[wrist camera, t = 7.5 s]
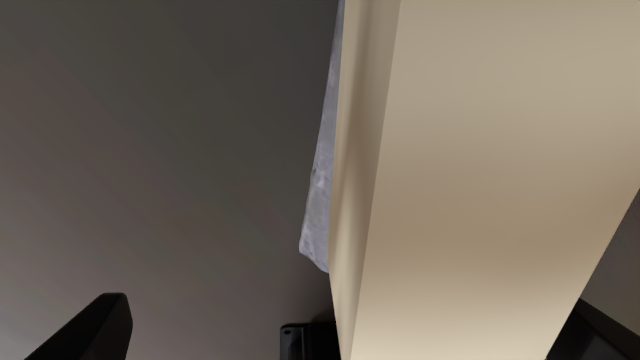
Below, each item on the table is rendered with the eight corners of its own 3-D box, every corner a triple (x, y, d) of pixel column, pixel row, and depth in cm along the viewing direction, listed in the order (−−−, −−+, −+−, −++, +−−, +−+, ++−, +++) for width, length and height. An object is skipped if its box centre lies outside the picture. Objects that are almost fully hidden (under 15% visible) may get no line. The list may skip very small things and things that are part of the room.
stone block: (326, -138, 15) (388, -235, 6) (448, -108, 15) (650, -157, 7) (282, 147, 21) (283, 297, 12) (371, 159, 21) (430, 306, 13)
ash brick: (460, 253, 12) (532, 381, 8) (326, 256, 11) (346, 391, 8) (556, -62, 8) (775, -58, 4) (350, -73, 7) (411, -79, 4)
